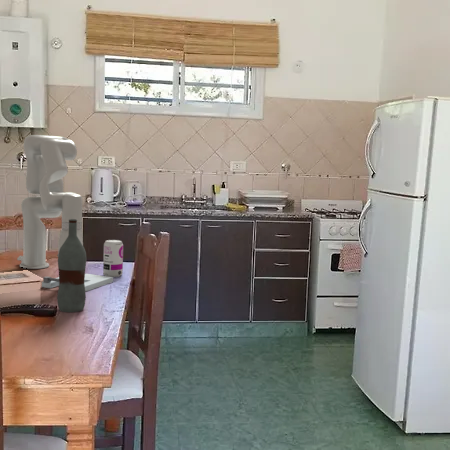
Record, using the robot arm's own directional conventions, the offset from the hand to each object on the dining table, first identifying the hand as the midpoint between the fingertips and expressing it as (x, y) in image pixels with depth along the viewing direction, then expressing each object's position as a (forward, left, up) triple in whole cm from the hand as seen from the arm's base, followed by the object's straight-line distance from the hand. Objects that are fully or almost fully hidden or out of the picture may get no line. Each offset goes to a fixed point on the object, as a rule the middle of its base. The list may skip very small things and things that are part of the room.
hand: (71, 271), depth 216 cm
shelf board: (0, +5, -6) cm, 8 cm away
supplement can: (+2, +27, -6) cm, 28 cm away
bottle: (+19, -26, -6) cm, 33 cm away
